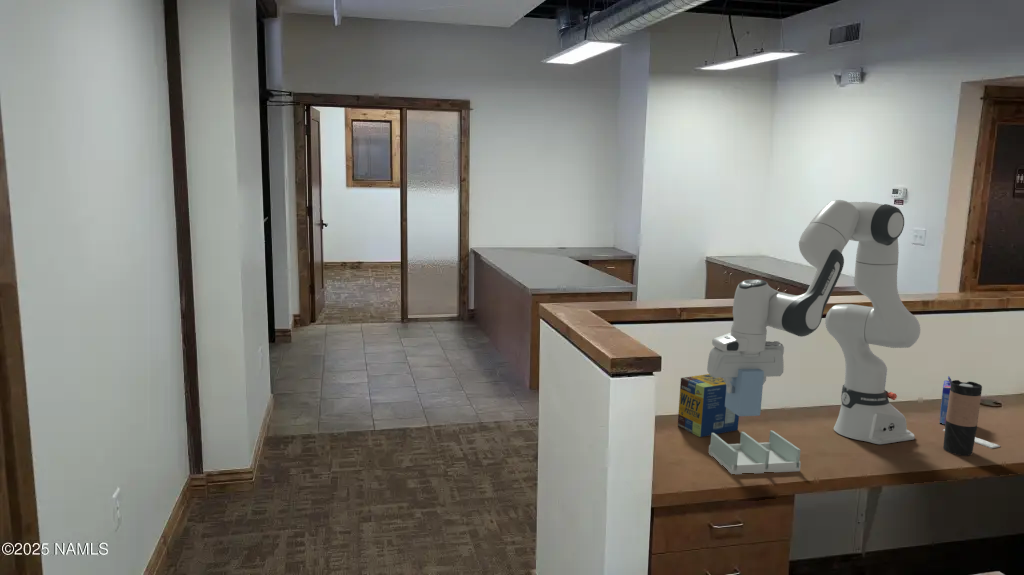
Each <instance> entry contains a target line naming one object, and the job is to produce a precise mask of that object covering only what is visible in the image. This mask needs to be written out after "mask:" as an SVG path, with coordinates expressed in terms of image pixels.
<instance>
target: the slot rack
mask: <svg viewBox="0 0 1024 575" xmlns="http://www.w3.org/2000/svg"><path fill="white" fill-rule="evenodd" d="M739 439H740V440H739V443H727V442H726V441H725V440H723V439H722V438H721V437H720V436H719V435H718V434H715V433H711V435H710V444H709V445H708V453H709V454H708V455H709V456H711V457H712V456H713V457H714V458H715V459H716V460H717V461H718V462H719V463H718V462H717V461H716V460H715V459H714V458H713V457H712V458H713V459H714V460H715V461H716V462H717V463H718V464H719V465H721V466H722V465H723V466H724V467H725V468H726V469H727V470H728V473H730V474H731V475H732V474H735V475H743V474H742V473H754V474H765V473H764V472H774V473H788V472H789V473H793V472H800V471H801V463H802V462H801V461H800V459H801V449H800V448H799V447H798V446H796V445H794V444H793V443H792V442H791V441H788V439H786V438H784V437H783V436H782V435H780V434H778V433H777V432H776V431H774V430H769V440H768V442H758V441H757V440H755V438H753V437H752V436H750V435H749V434H747V433H746V432H745V431H740V438H739ZM723 466H722V467H723ZM724 467H723V468H724ZM725 468H724V469H725ZM726 469H725V470H726Z"/></svg>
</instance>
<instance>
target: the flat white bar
mask: <svg viewBox="0 0 1024 575" xmlns="http://www.w3.org/2000/svg"><path fill="white" fill-rule="evenodd" d="M944 431H945V428H944V429H942V432H944ZM974 444H978V445H980V446H983V447H986V448H989V449H996V448H1000V447H1001V445H999V444H997V443H994V442H990V441H987V440H985V439H982V438H979V437H976V436H975V441H974Z"/></svg>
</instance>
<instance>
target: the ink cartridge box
mask: <svg viewBox="0 0 1024 575" xmlns="http://www.w3.org/2000/svg"><path fill="white" fill-rule="evenodd" d="M947 379H948V380H944V381H943V385H942V391H941V403H940V409H939V410H940V412H939V422H940V423H942V424H941V425H945V424H946V415H947V408H948V401H949V394H950V387H951V382H952V381H953V380H952V379H951V376H949V375H948V376H947ZM940 423H939V424H940Z"/></svg>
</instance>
